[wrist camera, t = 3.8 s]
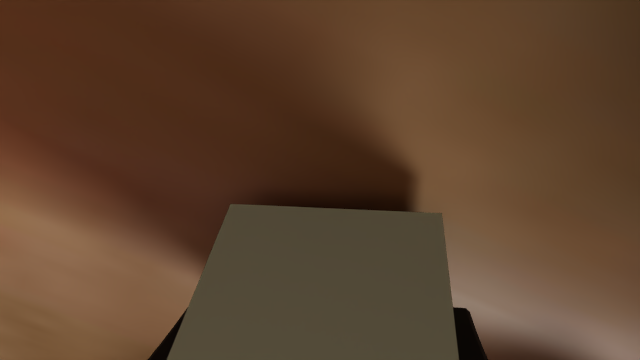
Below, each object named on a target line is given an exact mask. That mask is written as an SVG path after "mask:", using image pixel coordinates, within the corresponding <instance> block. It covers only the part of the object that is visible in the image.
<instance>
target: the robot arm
mask: <svg viewBox="0 0 640 360" xmlns="http://www.w3.org/2000/svg"><path fill="white" fill-rule="evenodd" d="M187 309H188V308H187ZM187 309H186V311H187ZM186 311H185V312H184V313H183V315H182V316H181V317H180V319H179V320H178V321H177V323H176V324H175V325H174V327H173V328H172V329H171V331H170V332H169V333H168V335H167V336H166V337H165V339H164V340H163V341H162V343H161V344H160V345H159V346H158V348H157V349H156V350H155V351H154V353H153V354H152V355H151V356H150V358H149V359H148V360H167V358H168V355H169V353H170V350H171V348H172V346H173V343H174V341H175V338H176V336H177V333H178V331H179V328H180V326H181V324H182V321H183V319H184V316H185V314H186ZM453 313H454V321H455V330H456V339H457V347H458V356H459V360H488V359H487V356H486V354H485V352H484V349H483V347H482V344H481V342H480V339H479V337H478V334H477V332H476V329H475V326H474V323H473V320H472V317H471V314H470V312H469V311H468V310H467V309H466V308H454V307H453Z"/></svg>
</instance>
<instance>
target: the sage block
mask: <svg viewBox="0 0 640 360" xmlns="http://www.w3.org/2000/svg"><path fill="white" fill-rule="evenodd" d="M167 360H459V356H458V347H457V339H456V330H455V321H454V313H453V304H452V296H451V287H450V278H449V270H448V261H447V253H446V244H445V236H444V227H443V218H442V213H424V212H401V211H379V210H357V209H334V208H312V207H289V206H267V205H244V204H230V206H229V209H228V211H227V214H226V216H225V218H224V221H223V223H222V226H221V228H220V231H219V233H218V236H217V238H216V240H215V243H214V245H213V248H212V250H211V253H210V255H209V258H208V260H207V262H206V265H205V267H204V270H203V272H202V275H201V277H200V280H199V282H198V284H197V287H196V289H195V292H194V294H193V297H192V299H191V302H190V304H189V306H188V309H187V311H186V314H185V316H184V319H183V321H182V324H181V326H180V328H179V331H178V333H177V336H176V338H175V341H174V343H173V346H172V348H171V350H170V353H169V355H168V358H167Z"/></svg>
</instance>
